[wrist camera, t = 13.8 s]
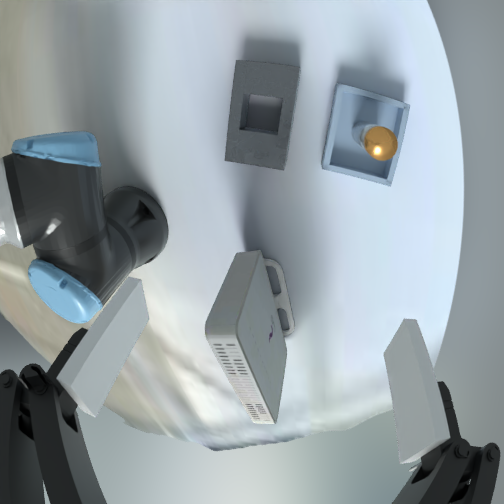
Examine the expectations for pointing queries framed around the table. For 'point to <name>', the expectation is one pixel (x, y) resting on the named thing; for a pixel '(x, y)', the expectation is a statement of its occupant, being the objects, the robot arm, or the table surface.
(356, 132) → the steel pin
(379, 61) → the table surface
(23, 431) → the robot arm
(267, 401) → the network device
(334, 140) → the tray
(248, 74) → the grey socket block
